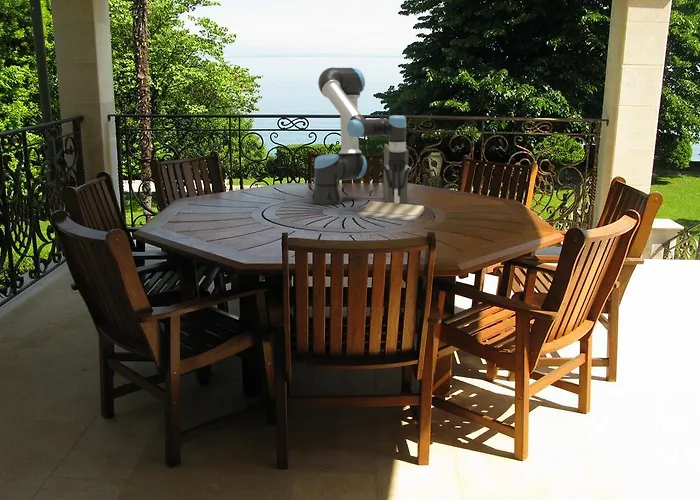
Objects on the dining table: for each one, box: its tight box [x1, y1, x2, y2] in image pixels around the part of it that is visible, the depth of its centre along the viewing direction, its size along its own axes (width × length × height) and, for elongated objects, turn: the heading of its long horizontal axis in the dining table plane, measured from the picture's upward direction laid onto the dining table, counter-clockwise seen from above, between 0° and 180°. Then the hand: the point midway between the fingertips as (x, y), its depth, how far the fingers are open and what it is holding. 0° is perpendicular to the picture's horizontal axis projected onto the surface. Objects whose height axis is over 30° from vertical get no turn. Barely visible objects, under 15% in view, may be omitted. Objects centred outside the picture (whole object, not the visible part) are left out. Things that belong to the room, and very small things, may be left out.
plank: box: [362, 200, 425, 219], centre depth 299 cm, size 26×9×2 cm, turn 65°
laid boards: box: [356, 210, 418, 222], centre depth 292 cm, size 26×6×2 cm, turn 65°
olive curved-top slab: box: [382, 143, 410, 204], centre depth 327 cm, size 22×9×28 cm, turn 3°
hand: (396, 203), depth 301 cm, fingers closed
